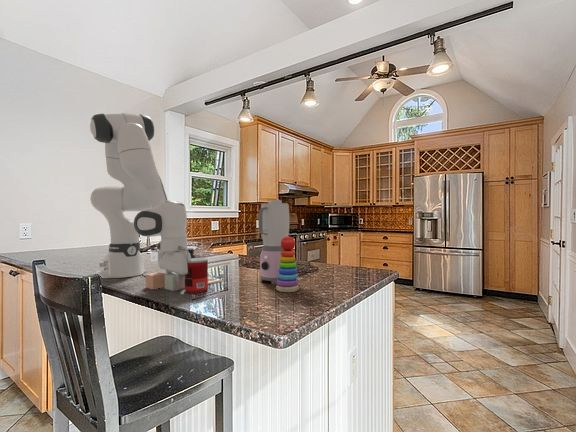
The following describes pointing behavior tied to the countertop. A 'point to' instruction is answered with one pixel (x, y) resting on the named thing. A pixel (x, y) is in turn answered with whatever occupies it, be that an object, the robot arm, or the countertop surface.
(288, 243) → the stacking toy
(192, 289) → the canned food
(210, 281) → the build plate
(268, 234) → the blender
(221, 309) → the countertop surface
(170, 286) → the block
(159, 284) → the block
